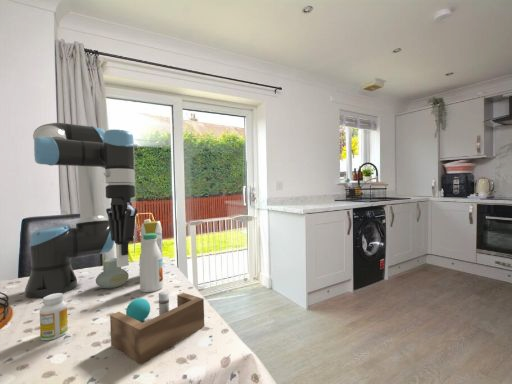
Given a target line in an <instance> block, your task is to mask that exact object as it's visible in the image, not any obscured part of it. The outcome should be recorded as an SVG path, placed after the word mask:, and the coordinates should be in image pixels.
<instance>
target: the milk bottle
mask: <svg viewBox="0 0 512 384" xmlns="http://www.w3.org/2000/svg"><path fill="white" fill-rule="evenodd" d="M143 239H144V246H143V249H142V251H140V254H139V290H140V291H141V292H142V293H151V292H152V293H153V292H157V291H159V290H161V289H162V288H163V287H164V285H163V284H164V276H163V274H164V273H163V272H164V269H163V267H162V254H163V253H162V254H161V251H160V249H159V247H158V245H157V242H156V240H157V234H156V233H149V234H144V235H143Z"/></svg>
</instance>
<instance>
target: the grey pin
mask: <svg viewBox="0 0 512 384" xmlns="http://www.w3.org/2000/svg"><path fill="white" fill-rule="evenodd" d="M169 302H170V296H169V291H165V290H164V291H160V292H159V293H158V316H159V315H161V314H163V313H165V312H168V311H170V304H169Z"/></svg>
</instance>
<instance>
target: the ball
mask: <svg viewBox="0 0 512 384" xmlns="http://www.w3.org/2000/svg"><path fill="white" fill-rule="evenodd" d="M125 309H126V310H125V315H127V316H129V317H132V318H134V319H136V320H138V321H140V322H144V321H145V320H146V319H147V318H148V317H149V315H150V312H151V305H150V302H149V301H148V300H147V299H145V298H142V297H141V298H135V299H133V300H132V301H130V303H128V305H127V307H126V308H125Z"/></svg>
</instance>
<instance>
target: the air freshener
mask: <svg viewBox="0 0 512 384" xmlns="http://www.w3.org/2000/svg"><path fill="white" fill-rule="evenodd" d="M102 266H103V267H102V270H103V271H102V272H100V273H99V274H98V275H97V277H96V278H95V284H96V285H97V286H98V287H99V288H102V289H117V288H119V287H121V286H123V284H125V283H126V282H127V281H128V279H129V277H130V276H129V272H127V270H126V269H123V268H122V267H120V268H119V267H117V257H113V258H112V257H111V258H107V259H105V260H103V262H102Z"/></svg>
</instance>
